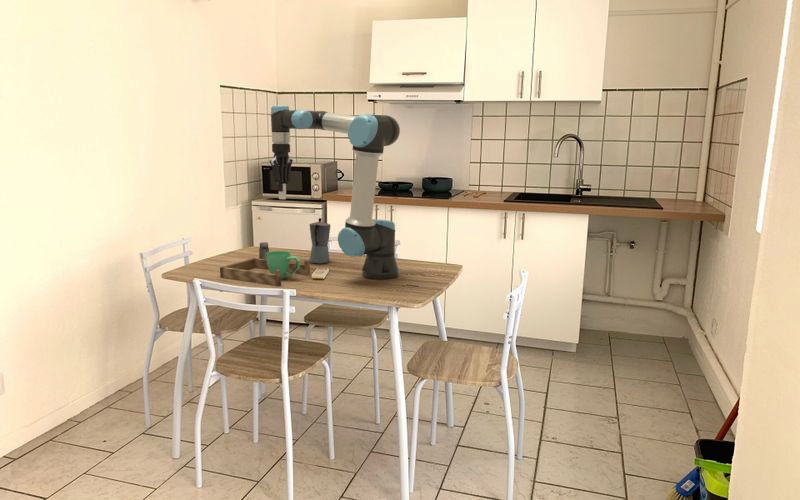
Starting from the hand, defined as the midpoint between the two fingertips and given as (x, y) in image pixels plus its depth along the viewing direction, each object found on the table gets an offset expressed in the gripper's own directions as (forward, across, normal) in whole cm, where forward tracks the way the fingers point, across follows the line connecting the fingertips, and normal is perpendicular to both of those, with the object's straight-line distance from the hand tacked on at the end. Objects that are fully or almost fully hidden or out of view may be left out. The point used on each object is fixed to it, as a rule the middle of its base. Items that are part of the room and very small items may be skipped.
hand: (282, 198), depth 254 cm
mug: (+30, +18, +14) cm, 37 cm away
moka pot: (+30, -13, +10) cm, 34 cm away
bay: (+29, +16, +4) cm, 34 cm away
